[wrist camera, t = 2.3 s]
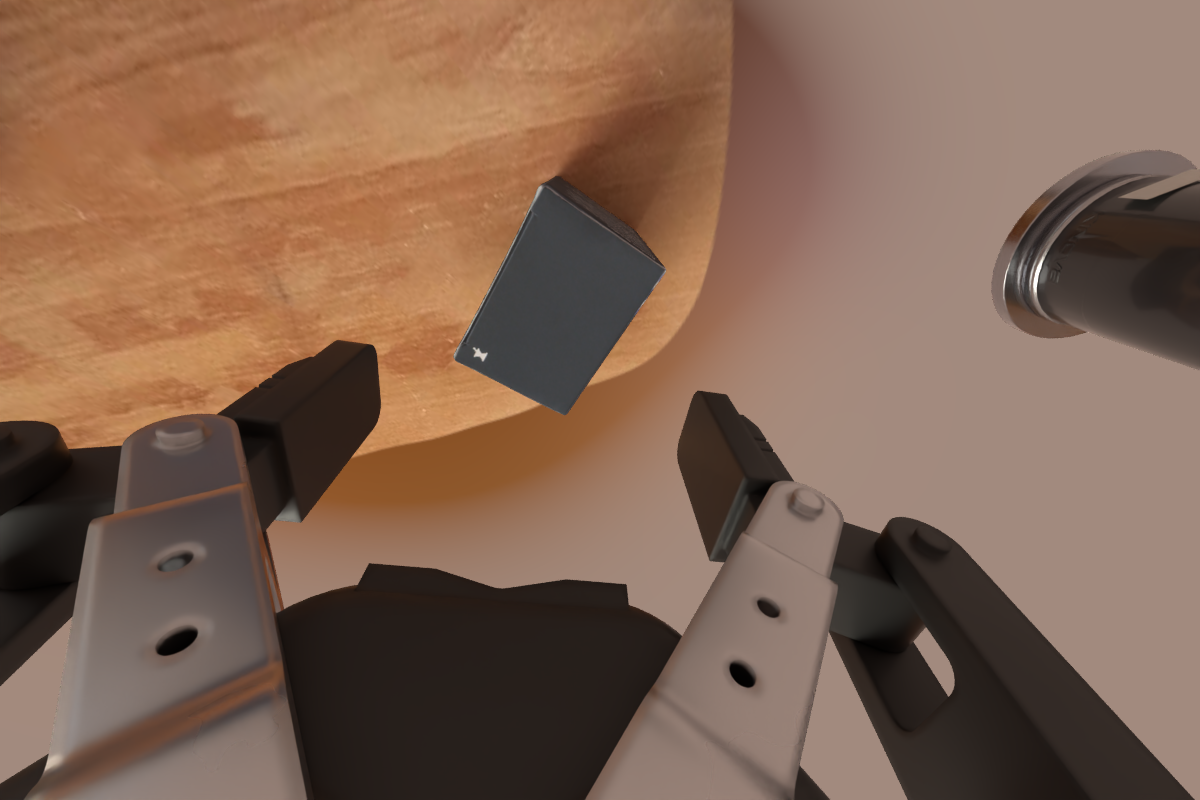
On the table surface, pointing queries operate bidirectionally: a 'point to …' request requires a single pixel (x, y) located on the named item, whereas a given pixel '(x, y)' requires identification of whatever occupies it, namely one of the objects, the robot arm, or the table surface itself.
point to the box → (560, 298)
